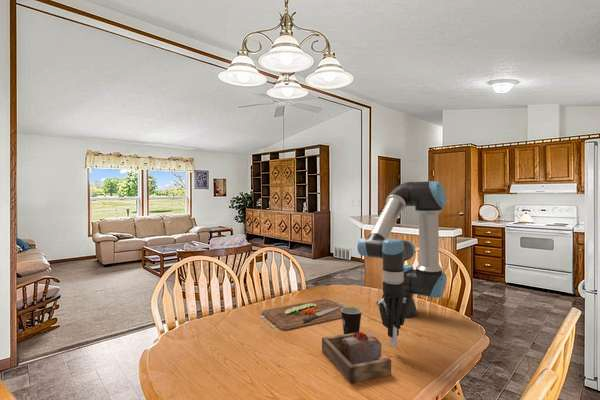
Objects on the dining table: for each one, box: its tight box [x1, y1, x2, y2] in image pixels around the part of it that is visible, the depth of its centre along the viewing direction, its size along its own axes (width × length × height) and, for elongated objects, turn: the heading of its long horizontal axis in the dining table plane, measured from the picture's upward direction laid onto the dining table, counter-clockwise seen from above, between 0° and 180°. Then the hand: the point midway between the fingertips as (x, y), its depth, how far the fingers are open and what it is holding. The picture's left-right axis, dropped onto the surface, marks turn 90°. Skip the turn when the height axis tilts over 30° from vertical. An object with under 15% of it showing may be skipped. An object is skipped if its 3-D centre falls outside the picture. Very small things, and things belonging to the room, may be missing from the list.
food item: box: [340, 331, 383, 365], centre depth 121 cm, size 14×8×10 cm, turn 115°
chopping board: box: [259, 298, 348, 332], centre depth 167 cm, size 45×27×3 cm, turn 118°
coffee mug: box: [341, 306, 363, 335], centre depth 145 cm, size 12×9×10 cm
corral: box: [321, 333, 392, 384], centre depth 120 cm, size 15×23×5 cm, turn 19°
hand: (393, 344), depth 125 cm, fingers closed
